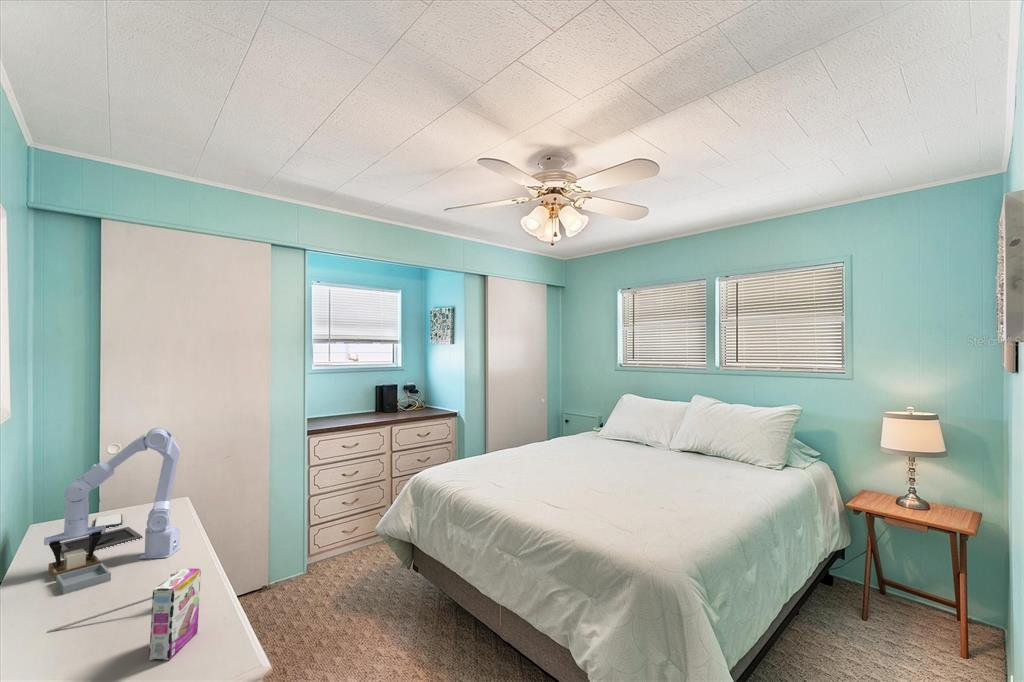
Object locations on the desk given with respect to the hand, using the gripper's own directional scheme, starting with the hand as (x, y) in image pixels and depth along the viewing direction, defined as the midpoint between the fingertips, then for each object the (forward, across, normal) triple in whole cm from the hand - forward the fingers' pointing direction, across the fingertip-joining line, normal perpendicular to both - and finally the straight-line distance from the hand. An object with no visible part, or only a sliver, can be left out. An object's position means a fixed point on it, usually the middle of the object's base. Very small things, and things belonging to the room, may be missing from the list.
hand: (74, 560), depth 149 cm
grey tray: (+3, 0, +13) cm, 13 cm away
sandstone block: (+2, 0, 0) cm, 3 cm away
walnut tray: (+3, 0, 0) cm, 3 cm away
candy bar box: (+3, -6, +71) cm, 72 cm away
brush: (+3, -2, +46) cm, 46 cm away
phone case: (+4, -18, -45) cm, 48 cm away
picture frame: (+4, -11, -22) cm, 25 cm away
